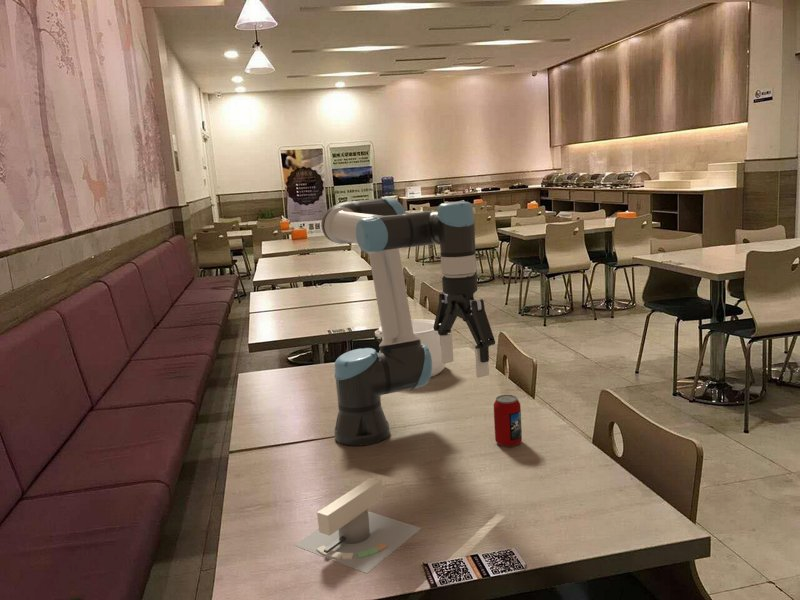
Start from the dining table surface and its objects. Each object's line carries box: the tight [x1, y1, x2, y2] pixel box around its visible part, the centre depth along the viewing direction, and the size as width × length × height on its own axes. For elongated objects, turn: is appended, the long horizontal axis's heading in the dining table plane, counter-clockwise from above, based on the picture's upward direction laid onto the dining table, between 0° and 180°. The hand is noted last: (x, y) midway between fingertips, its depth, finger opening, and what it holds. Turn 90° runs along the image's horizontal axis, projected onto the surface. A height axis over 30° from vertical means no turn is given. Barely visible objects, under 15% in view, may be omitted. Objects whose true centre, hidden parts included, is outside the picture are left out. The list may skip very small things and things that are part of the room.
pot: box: [374, 318, 447, 378], centre depth 233 cm, size 26×24×17 cm
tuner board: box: [293, 510, 422, 574], centre depth 127 cm, size 18×17×2 cm
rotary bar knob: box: [316, 476, 384, 553], centre depth 126 cm, size 6×16×8 cm, turn 144°
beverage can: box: [493, 394, 523, 448], centre depth 166 cm, size 7×7×12 cm
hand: (464, 369), depth 145 cm, fingers open, 13 cm apart
